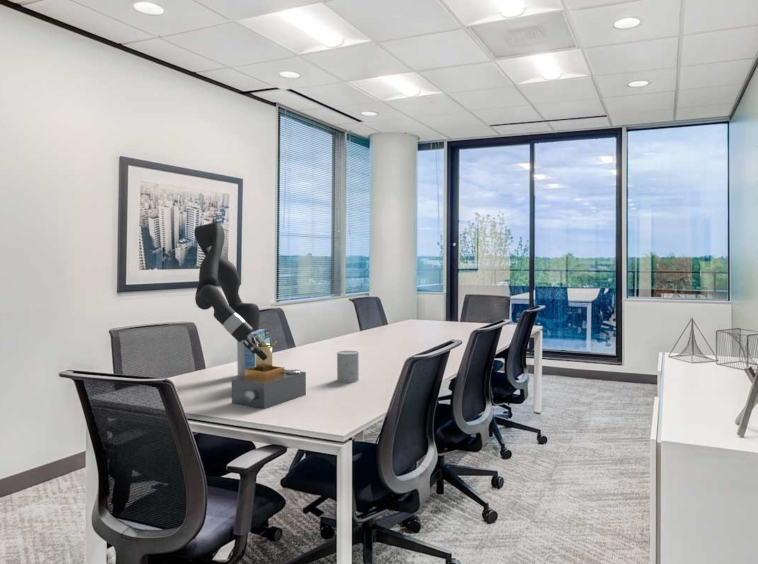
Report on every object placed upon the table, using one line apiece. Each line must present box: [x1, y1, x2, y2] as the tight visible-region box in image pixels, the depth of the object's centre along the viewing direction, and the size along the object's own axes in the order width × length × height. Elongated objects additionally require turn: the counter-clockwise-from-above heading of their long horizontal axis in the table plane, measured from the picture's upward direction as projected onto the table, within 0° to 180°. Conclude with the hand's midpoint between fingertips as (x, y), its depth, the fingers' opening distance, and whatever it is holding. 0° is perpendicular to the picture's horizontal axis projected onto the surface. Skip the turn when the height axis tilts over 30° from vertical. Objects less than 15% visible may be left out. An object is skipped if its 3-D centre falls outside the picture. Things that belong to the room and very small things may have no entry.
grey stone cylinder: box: [336, 350, 360, 384], centre depth 248 cm, size 10×10×12 cm
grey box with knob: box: [231, 365, 307, 410], centre depth 215 cm, size 27×16×12 cm, turn 150°
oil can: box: [256, 340, 278, 372], centre depth 217 cm, size 8×6×13 cm
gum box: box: [244, 328, 271, 376], centre depth 237 cm, size 20×5×23 cm, turn 172°
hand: (268, 356), depth 217 cm, fingers open, 8 cm apart
